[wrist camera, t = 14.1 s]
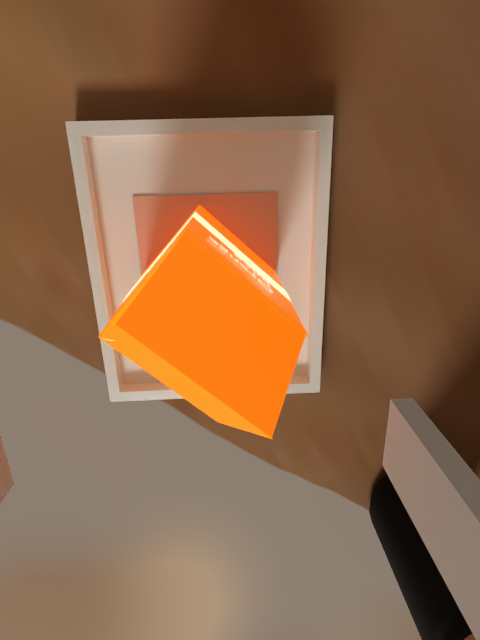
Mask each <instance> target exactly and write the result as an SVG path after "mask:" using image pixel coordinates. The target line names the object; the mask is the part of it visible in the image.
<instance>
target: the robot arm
mask: <svg viewBox="0 0 480 640" xmlns="http://www.w3.org/2000/svg"><path fill="white" fill-rule="evenodd" d="M382 465H383V467H384V469H385V471H386V473H387V475H388V477H389V479H390V480H391V482H392V484H393V486H394V488H395V490H396V492H397V493H398V495H399V497H400V499H401V501H402V503H403V505H404V507H405V508H406V510H407V512H408V514H409V516H410V518H411V520H412V521H413V523H414V525H415V527H416V529H417V531H418V533H419V534H420V536H421V538H422V540H423V542H424V544H425V546H426V548H427V549H428V551H429V553H430V555H431V557H432V559H433V561H434V562H435V564H436V566H437V568H438V570H439V572H440V574H441V575H442V577H443V579H444V581H445V583H446V585H447V587H448V589H449V590H450V592H451V594H452V596H453V598H454V600H455V602H456V603H457V605H458V607H459V609H460V611H461V613H462V615H463V617H464V618H465V620H466V622H467V624H468V626H469V628H470V630H471V631H472V633H473V635H474V637H475V639H476V640H480V479H479V478H478V477H477V476H476V475H475V473H474V472H473V471H472V470H471V468H470V467H469V466H468V465H467V464H466V462H465V461H464V460H463V459H462V458H461V456H460V455H459V454H458V453H457V451H456V450H455V449H454V448H453V447H452V445H451V444H450V443H449V442H448V440H447V439H446V438H445V437H444V436H443V434H442V433H441V432H440V431H439V430H438V428H437V427H436V426H435V425H434V423H433V422H432V421H431V420H430V419H429V417H428V416H427V415H426V414H425V412H424V411H423V410H422V409H421V408H420V406H419V405H418V404H417V403H416V402H415V400H414V399H413V398H409V399H391V400H390V408H389V416H388V424H387V432H386V440H385V448H384V456H383V464H382ZM13 484H14V483H13V480H12V476H11V473H10V469H9V466H8V462H7V459H6V455H5V452H4V448H3V444H2V441H1V437H0V503H1V502H2V501H3V499H4V498H5V496H6V495H7V493H8V492H9V490H10V488H11V487H12V485H13Z"/></svg>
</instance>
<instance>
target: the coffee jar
mask: <svg viewBox="0 0 480 640" xmlns="http://www.w3.org/2000/svg"><path fill="white" fill-rule="evenodd" d="M369 513H370V516H371V520H372V523H373V525H374V528H375V530H376V533H377V535H378V537H379V539H380V542H381V544H382V546H383V549H384V551H385V553H386V556H387V558H388V561H389V563H390V566H391V568H392V570H393V572H394V575H395V577H396V580H397V582H398V584H399V587H400V589H401V591H402V594H403V596H404V599H405V601H406V603H407V606H408V608H409V610H410V613H411V615H412V617H413V620H414V622H415V624H416V627H417V629H418V632H419V634H420V636H421V639H422V640H476V639H475V637H474V635H473V633H472V631H471V630H470V628H469V626H468V624H467V622H466V620H465V618H464V617H463V615H462V613H461V611H460V609H459V607H458V605H457V603H456V602H455V600H454V598H453V596H452V594H451V592H450V590H449V589H448V587H447V585H446V583H445V581H444V579H443V577H442V575H441V574H440V572H439V570H438V568H437V566H436V564H435V562H434V561H433V559H432V557H431V555H430V553H429V551H428V549H427V548H426V546H425V544H424V542H423V540H422V538H421V536H420V534H419V533H418V531H417V529H416V527H415V525H414V523H413V521H412V520H411V518H410V516H409V514H408V512H407V510H406V508H405V507H404V505H403V503H402V501H401V499H400V497H399V495H398V493H397V492H396V490H395V488H394V486H393V484H392V482H391V480H390V479H389V477H388V475H386V476H385V477H384V478H383V479H382V480H381V481H380V482H379V483H378V484H377V486H376V488H375V490H374V492H373V495H372V497H371V502H370V510H369Z"/></svg>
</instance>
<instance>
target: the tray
mask: <svg viewBox="0 0 480 640" xmlns="http://www.w3.org/2000/svg"><path fill="white" fill-rule="evenodd" d="M333 116H334V115H323V116H280V117H238V118H196V119H154V120H112V121H70V122H65V124H66V130H67V136H68V142H69V149H70V155H71V161H72V167H73V173H74V180H75V186H76V192H77V198H78V204H79V211H80V217H81V223H82V229H83V235H84V242H85V248H86V254H87V260H88V266H89V273H90V279H91V285H92V291H93V297H94V303H95V310H96V316H97V322H98V328H99V334H100V333H101V332H102V330H103V329H104V328H105V326H106V325H107V323H108V322H109V321H110V319H111V318H112V316H113V315H114V314H115V312H116V311H117V309H118V308H119V307H120V305H121V304H122V301H123V300H124V298H125V297H126V296H127V294H128V293H129V292H130V290H131V289H132V288H133V287H134V285H135V284H136V283H137V281H138V280H139V279H140V277H141V276H142V274H143V273H144V272H145V270H146V269H147V268H148V267H149V265H150V264H151V263H152V262H153V261H154V259H155V258H156V257H157V256H158V255H159V253H160V252H161V251H162V250H163V248H164V247H165V246H166V245H167V244H168V242H169V241H170V240H171V239H172V238H173V236H174V235H175V234H176V233H177V231H178V230H179V229H180V228H181V227H182V225H183V224H184V223H185V222H186V220H187V219H188V218H189V217H190V216H191V214H192V213H193V212H194V211H195V210H196V208H197V207H198V206H199V205H201V206H202V207H203V208H204V209H205V210H206V211H207V212H209V213H210V214H211V215H212V216H213V217H214V218H215V219H216V220H218V221H219V222H220V223H221V224H222V225H223V226H224V227H226V228H227V229H228V230H229V231H230V232H231V233H232V234H233V235H235V236H236V237H237V238H238V239H239V240H240V241H241V242H242V243H244V244H245V245H246V246H247V247H248V248H249V249H250V250H252V251H253V252H254V253H255V254H256V255H257V256H258V257H259V258H261V259H262V260H263V261H264V262H265V263H266V264H267V265H269V266H270V267H271V268H272V269H273V270H274V271H275V272H276V274H277V276H278V278H279V280H280V282H281V284H282V286H283V288H284V290H286V292H287V294H288V296H289V298H290V300H291V303H292V305H293V307H294V309H295V311H296V313H297V315H298V317H299V319H300V321H301V323H302V325H303V327H304V329H305V330H306V331H307V334H308V335H307V336H306V337H305V339H304V342H303V345H302V348H301V351H300V354H299V357H298V360H297V363H296V366H295V369H294V372H293V375H292V378H291V381H290V384H289V387H288V390H287V393H286V394H291V393H313V392H320V373H321V354H322V334H323V314H324V294H325V274H326V255H327V235H328V215H329V195H330V175H331V156H332V136H333ZM100 341H101V347H102V353H103V359H104V365H105V372H106V378H107V383H108V390H109V396H110V401H111V402H117V401H137V400H138V401H139V400H161V399H182V398H183V397H182V396H180V395H179V394H177V393H176V392H175V391H173V390H172V389H170V388H169V387H168V386H166V385H165V384H163V383H162V382H161V381H159V380H158V379H156V378H155V377H154V376H152V375H151V374H149V373H148V372H146V371H145V370H144V369H142V368H141V367H139V366H138V365H137V364H135V363H134V362H132V361H131V360H130V359H128V358H127V357H125V356H124V355H123V354H121V353H120V352H118V351H117V350H116V349H114V348H113V347H111V346H110V345H108V344H107V343H106V342H104V341H103V340H101V339H100Z"/></svg>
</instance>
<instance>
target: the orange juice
mask: <svg viewBox="0 0 480 640" xmlns="http://www.w3.org/2000/svg"><path fill="white" fill-rule="evenodd" d="M307 335H308V334H307V331H306V330H305V329H304V327H303V325H302V323H301V321H300V319H299V317H298V315H297V313H296V311H295V309H294V307H293V305H292V303H291V300H290V298H289V296H288V294H287V292H286V290H284V288H283V286H282V284H281V282H280V280H279V278H278V276H277V274H276V272H275V271H274V270H273V269H272V268H271V267H270V266H269V265H267V264H266V263H265V262H264V261H263V260H262V259H261V258H259V257H258V256H257V255H256V254H255V253H254V252H253V251H252V250H250V249H249V248H248V247H247V246H246V245H245V244H244V243H242V242H241V241H240V240H239V239H238V238H237V237H236V236H235V235H233V234H232V233H231V232H230V231H229V230H228V229H227V228H226V227H224V226H223V225H222V224H221V223H220V222H219V221H218V220H216V219H215V218H214V217H213V216H212V215H211V214H210V213H209V212H207V211H206V210H205V209H204V208H203V207H202V206H201V205H199V206H198V207H197V208H196V210H195V211H194V212H193V213H192V214H191V216H190V217H189V218H188V219H187V220H186V222H185V223H184V224H183V225H182V227H181V228H180V229H179V230H178V231H177V233H176V234H175V235H174V236H173V238H172V239H171V240H170V241H169V242H168V244H167V245H166V246H165V247H164V248H163V250H162V251H161V252H160V253H159V255H158V256H157V257H156V258H155V259H154V261H153V262H152V263H151V264H150V265H149V267H148V268H147V269H146V270H145V272H144V273H143V274H142V276H141V277H140V279H139V280H138V281H137V283H136V284H135V285H134V287H133V288H132V289H131V290H130V292H129V293H128V294H127V296H126V297H125V298H124V300H123V301H122V304H121V305H120V307H119V308H118V309H117V311H116V312H115V314H114V315H113V316H112V318H111V319H110V321H109V322H108V323H107V325H106V326H105V328H104V329H103V330H102V332H101V333H100V335H99V338H100V339H101V340H103V341H104V342H106V343H107V344H108V345H110V346H111V347H113V348H114V349H116V350H117V351H118V352H120V353H121V354H123V355H124V356H125V357H127V358H128V359H130V360H131V361H132V362H134V363H135V364H137V365H138V366H139V367H141V368H142V369H144V370H145V371H146V372H148V373H149V374H151V375H152V376H154V377H155V378H156V379H158V380H159V381H161V382H162V383H163V384H165V385H166V386H168V387H169V388H170V389H172V390H173V391H175V392H176V393H177V394H179V395H180V396H182V397H183V398H185V399H186V400H187V401H189V402H190V403H192V404H193V405H194V406H196V407H197V408H199V409H200V410H201V411H203V412H204V413H206V414H207V415H208V416H210V417H211V418H213V419H214V420H215V421H217V422H219V423H222V424H226V425H229V426H232V427H235V428H238V429H242V430H245V431H248V432H251V433H254V434H258V435H261V436H264V437H267V438H270V439H272V435H273V432H274V429H275V426H276V423H277V420H278V417H279V414H280V411H281V408H282V405H283V402H284V399H285V396H286V393H287V390H288V387H289V384H290V381H291V378H292V375H293V372H294V369H295V366H296V363H297V360H298V357H299V354H300V351H301V348H302V345H303V342H304V339H305V337H306V336H307Z"/></svg>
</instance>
